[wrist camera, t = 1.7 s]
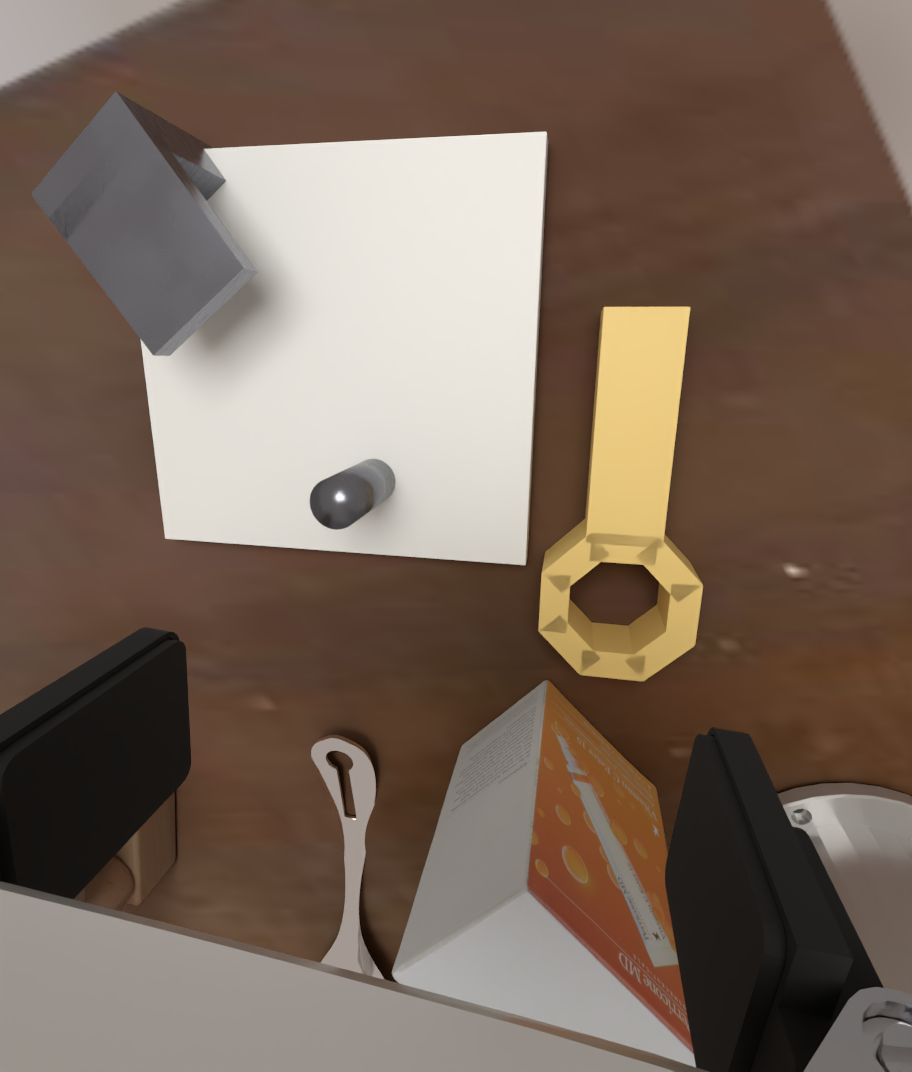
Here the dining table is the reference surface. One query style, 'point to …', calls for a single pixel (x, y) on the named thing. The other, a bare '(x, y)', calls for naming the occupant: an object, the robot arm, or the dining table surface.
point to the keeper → (146, 222)
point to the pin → (351, 493)
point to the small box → (550, 885)
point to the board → (365, 349)
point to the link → (628, 503)
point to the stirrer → (349, 845)
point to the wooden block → (136, 863)
